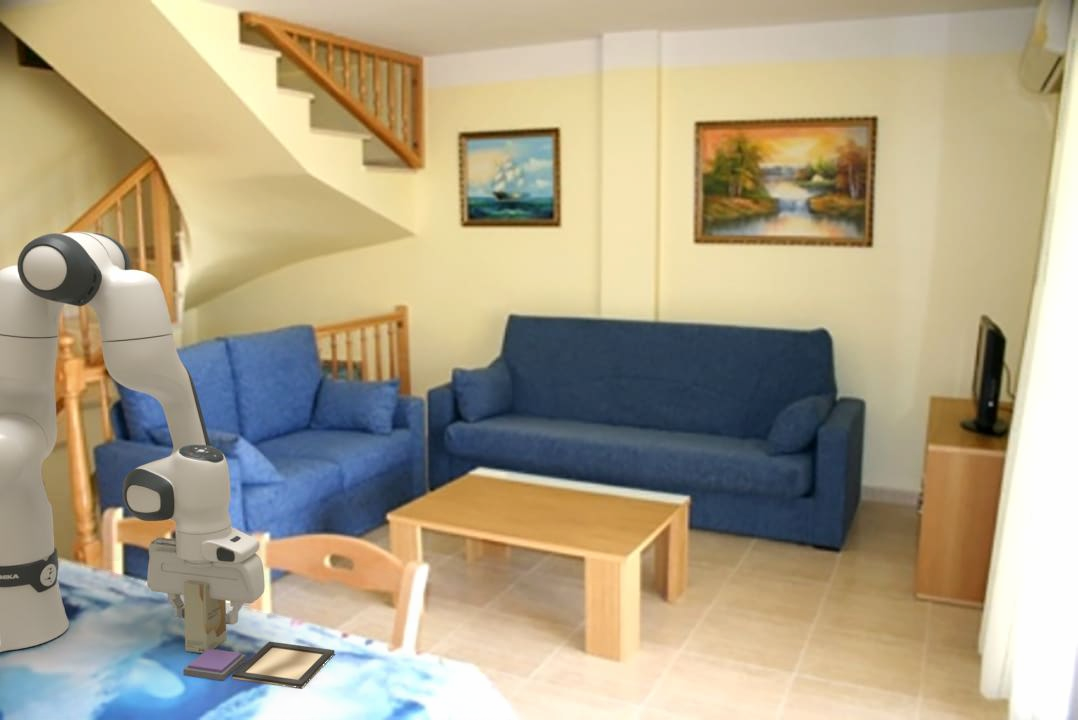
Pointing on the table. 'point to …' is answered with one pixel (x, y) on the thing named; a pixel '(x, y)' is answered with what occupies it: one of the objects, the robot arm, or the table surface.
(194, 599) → the skincare box
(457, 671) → the table surface
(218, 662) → the pad
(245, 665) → the framed board
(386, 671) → the table surface
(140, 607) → the table surface
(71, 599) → the table surface
